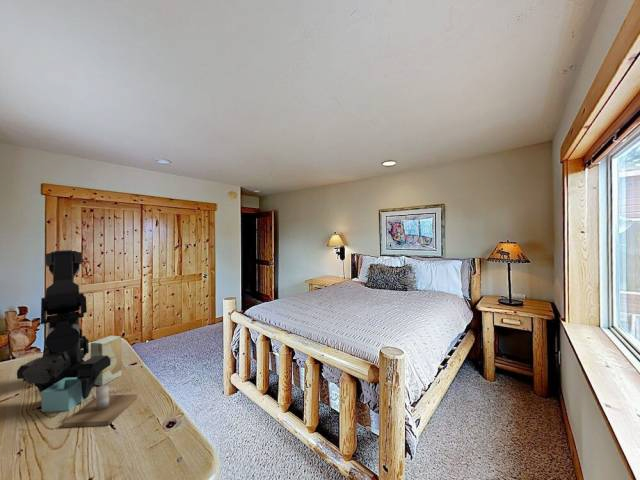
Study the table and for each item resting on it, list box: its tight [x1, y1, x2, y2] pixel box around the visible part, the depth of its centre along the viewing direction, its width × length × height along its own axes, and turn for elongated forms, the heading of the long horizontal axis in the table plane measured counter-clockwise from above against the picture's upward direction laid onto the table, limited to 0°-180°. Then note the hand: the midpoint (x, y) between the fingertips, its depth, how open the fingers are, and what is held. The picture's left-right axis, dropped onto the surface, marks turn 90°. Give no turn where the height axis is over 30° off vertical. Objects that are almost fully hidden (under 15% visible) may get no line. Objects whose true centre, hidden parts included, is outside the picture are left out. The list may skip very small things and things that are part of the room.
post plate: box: [62, 384, 138, 428], centre depth 65 cm, size 10×10×6 cm
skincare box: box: [90, 335, 123, 386], centre depth 79 cm, size 6×4×12 cm
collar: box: [40, 377, 91, 413], centre depth 68 cm, size 6×6×5 cm
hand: (67, 399), depth 69 cm, fingers open, 9 cm apart
